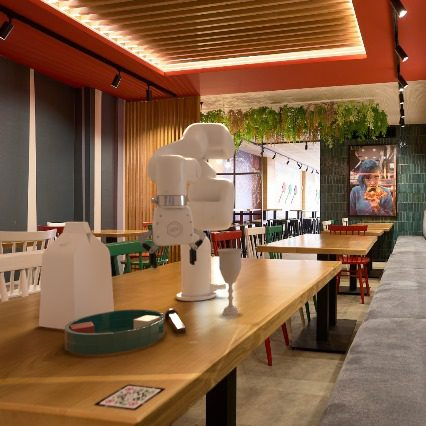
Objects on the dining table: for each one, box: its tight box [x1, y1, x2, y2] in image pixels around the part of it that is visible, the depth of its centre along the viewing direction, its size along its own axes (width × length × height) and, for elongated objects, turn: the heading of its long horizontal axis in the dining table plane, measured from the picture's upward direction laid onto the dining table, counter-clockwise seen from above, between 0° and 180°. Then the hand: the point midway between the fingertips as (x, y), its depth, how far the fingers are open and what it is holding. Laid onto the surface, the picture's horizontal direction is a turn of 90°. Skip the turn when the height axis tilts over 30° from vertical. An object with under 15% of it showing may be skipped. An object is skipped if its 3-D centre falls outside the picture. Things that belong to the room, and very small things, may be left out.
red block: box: [70, 322, 94, 333], centre depth 84 cm, size 4×4×4 cm
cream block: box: [134, 315, 161, 329], centre depth 90 cm, size 4×4×4 cm
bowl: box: [63, 308, 166, 355], centre depth 88 cm, size 20×20×4 cm
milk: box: [38, 221, 115, 330], centre depth 101 cm, size 12×12×26 cm
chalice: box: [217, 248, 244, 317], centre depth 108 cm, size 7×7×18 cm
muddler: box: [163, 308, 187, 335], centre depth 98 cm, size 3×3×14 cm
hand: (173, 265), depth 107 cm, fingers open, 9 cm apart
